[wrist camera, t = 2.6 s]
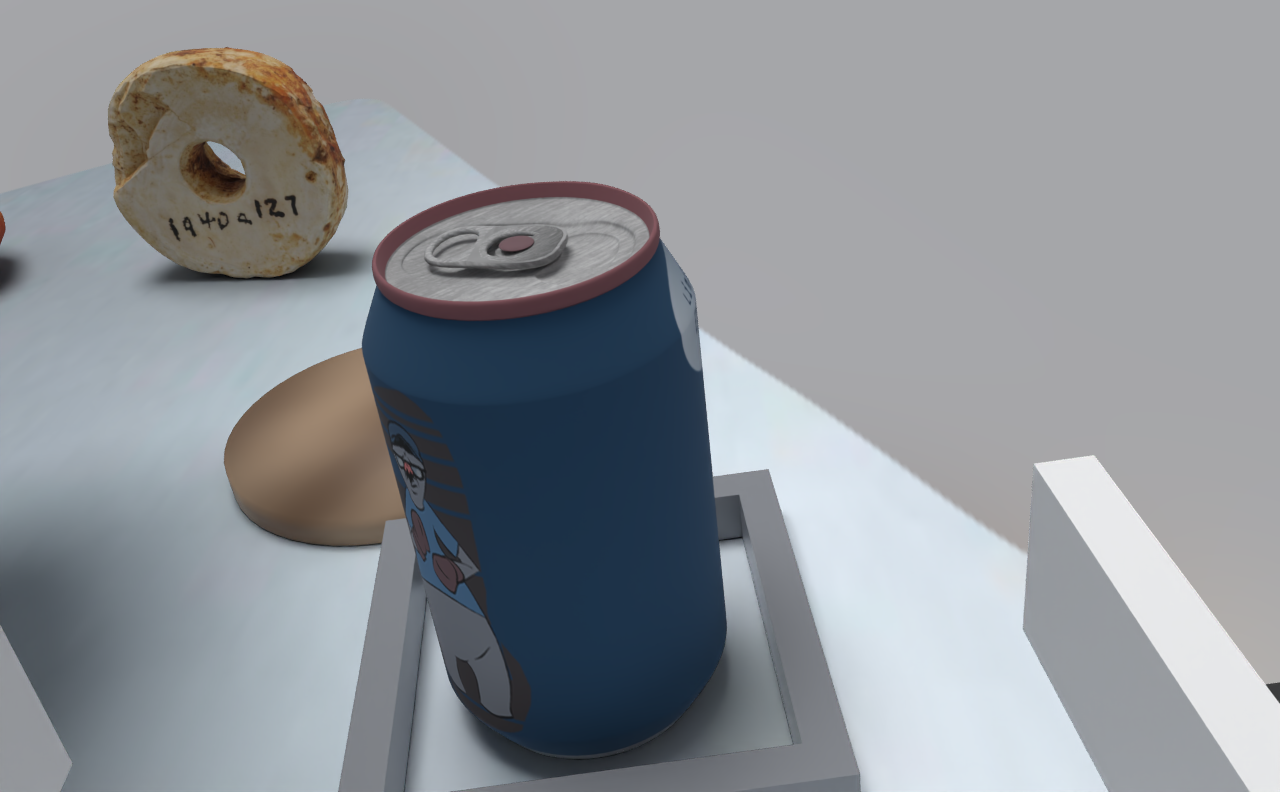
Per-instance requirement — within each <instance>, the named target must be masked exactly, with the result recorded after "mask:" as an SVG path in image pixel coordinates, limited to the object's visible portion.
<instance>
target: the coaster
mask: <svg viewBox="0 0 1280 792" xmlns="http://www.w3.org/2000/svg"><path fill="white" fill-rule="evenodd" d="M224 464H225V469H226V474H227V476H228V479H229V482H230V485H231V487H232V490H233V493H234V496H235V499H236V500H237V502H238V504H239V506H240V508H241V510H242V511H243V512H244V513H245V514H246V515H247V516H248V518H249V519H250V520H252V521H253V522H254V523H256V524H257V525H259V526H260V527H261V528H263V529H265V530H267V531H269V532H271V533H274V534H276V535H278V536H282V537H285V538H288V539H291V540H295V541H300V542H305V543H311V544H320V545H332V546H346V545H366V544H377V543H382V540H383V534H384V528H385V523H386V521H388V520H396V519H403V518H406V516H405V512H404V509H403V505H402V501H401V497H400V494H399V490H398V486H397V482H396V478H395V475H394V471H393V467H392V463H391V460H390V456H389V452H388V448H387V445H386V441H385V437H384V433H383V429H382V426H381V422H380V418H379V414H378V411H377V407H376V403H375V399H374V395H373V392H372V388H371V384H370V380H369V377H368V373H367V369H366V365H365V362H364V358H363V353H362V348H360V349H357V350H353V351H350V352H347V353H344V354H341V355H338V356H335V357H333V358H330V359H328V360H325V361H323V362H320V363H318V364H316V365H313V366H311V367H309V368H307V369H305V370H303V371H301V372H299V373H297V374H295V375H294V376H292V377H290V378H289V379H287V380H285V381H284V382H282V383H280V384H279V385H277V386H276V387H275V388H273V389H272V390H270V391H269V392H267V393H266V394H265V395H264V396H262V397H261V398H260V399H259V400H258V401H257V402H255V403H254V404H253V405H252V406H251V407H250V408H249V409H248V410H247V411H246V412H245V414H244V415H243V416H242V417H241V418H240V420H239V421H238V423H237V424H236V425H235V427H234V428H233V430H232V432H231V434H230V436H229V438H228V441H227V444H226V448H225V453H224Z"/></svg>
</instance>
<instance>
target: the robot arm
mask: <svg viewBox="0 0 1280 792" xmlns="http://www.w3.org/2000/svg"><path fill="white" fill-rule="evenodd" d="M1023 630H1024V632H1025V634H1026V636H1027V638H1028V640H1029V642H1030V644H1031V646H1032V648H1033V649H1034V651H1035V653H1036V655H1037V657H1038V659H1039V661H1040V663H1041V665H1042V666H1043V668H1044V670H1045V672H1046V674H1047V676H1048V678H1049V680H1050V682H1051V683H1052V685H1053V687H1054V689H1055V691H1056V693H1057V695H1058V697H1059V699H1060V701H1061V702H1062V704H1063V706H1064V708H1065V710H1066V712H1067V714H1068V716H1069V718H1070V719H1071V721H1072V723H1073V725H1074V727H1075V729H1076V731H1077V733H1078V735H1079V736H1080V738H1081V740H1082V742H1083V744H1084V746H1085V748H1086V750H1087V752H1088V753H1089V755H1090V757H1091V759H1092V761H1093V763H1094V765H1095V767H1096V769H1097V771H1098V772H1099V774H1100V776H1101V778H1102V780H1103V782H1104V784H1105V786H1106V788H1107V789H1108V791H1109V792H1280V683H1273V684H1266V685H1265V683H1264V682H1263V681H1262V679H1261V678H1260V677H1259V675H1258V674H1257V673H1256V671H1255V670H1254V669H1253V668H1252V666H1251V665H1250V663H1249V662H1248V661H1247V659H1246V658H1245V657H1244V655H1243V654H1242V653H1241V651H1240V650H1239V649H1238V647H1237V646H1236V645H1235V643H1234V642H1233V641H1232V639H1231V638H1230V636H1229V635H1228V634H1227V633H1226V631H1225V630H1224V628H1223V627H1222V626H1221V624H1220V623H1219V622H1218V620H1217V619H1216V618H1215V616H1214V615H1213V614H1212V612H1211V611H1210V610H1209V609H1208V607H1207V606H1206V604H1205V603H1204V602H1203V600H1202V599H1201V598H1200V596H1199V595H1198V594H1197V593H1196V591H1195V590H1194V588H1193V587H1192V586H1191V584H1190V583H1189V582H1188V580H1187V579H1186V578H1185V576H1184V575H1183V574H1182V572H1181V571H1180V570H1179V568H1178V567H1177V566H1176V564H1175V563H1174V562H1173V560H1172V559H1171V558H1170V556H1169V555H1168V554H1167V552H1166V551H1165V550H1164V548H1163V547H1162V545H1161V544H1160V543H1159V541H1158V540H1157V539H1156V538H1155V536H1154V535H1153V533H1152V532H1151V531H1150V529H1149V528H1148V527H1147V525H1146V524H1145V523H1144V521H1143V520H1142V519H1141V518H1140V516H1139V515H1138V514H1137V512H1136V511H1135V509H1134V508H1133V507H1132V505H1131V504H1130V503H1129V501H1128V500H1127V499H1126V497H1125V496H1124V495H1123V493H1122V492H1121V491H1120V489H1119V488H1118V487H1117V485H1116V484H1115V483H1114V481H1113V480H1112V479H1111V478H1110V476H1109V475H1108V473H1107V472H1106V471H1105V469H1104V468H1103V466H1102V465H1101V464H1100V463H1099V461H1098V460H1097V459H1096V457H1095V456H1094V455H1092V456H1085V457H1079V458H1071V459H1064V460H1057V461H1050V462H1043V463H1036V464H1034V467H1033V482H1032V497H1031V512H1030V528H1029V543H1028V558H1027V573H1026V588H1025V603H1024V618H1023ZM72 765H73V763H72V761H71V759H70V757H69V755H68V753H67V752H66V750H65V748H64V746H63V744H62V742H61V740H60V738H59V736H58V734H57V732H56V731H55V729H54V727H53V725H52V723H51V721H50V719H49V717H48V715H47V713H46V711H45V709H44V708H43V706H42V704H41V702H40V700H39V698H38V696H37V694H36V692H35V690H34V688H33V686H32V685H31V683H30V681H29V679H28V677H27V675H26V673H25V671H24V669H23V667H22V665H21V664H20V662H19V660H18V658H17V656H16V654H15V652H14V650H13V648H12V646H11V644H10V642H9V641H8V639H7V637H6V635H5V633H4V631H3V629H2V627H1V625H0V792H61V790H62V787H63V785H64V783H65V780H66V778H67V776H68V774H69V771H70V769H71V767H72Z"/></svg>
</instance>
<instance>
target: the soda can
mask: <svg viewBox="0 0 1280 792" xmlns="http://www.w3.org/2000/svg"><path fill="white" fill-rule="evenodd" d="M659 237H660V230H659V223H658V219H657V216H656V214H655V212H654V211H653V210H652V208H651V207H650V206H649V205H648V204H647V203H646V202H645V201H643V200H642V199H640V198H639V197H637V196H635V195H633V194H631V193H629V192H626V191H624V190H621V189H618V188H615V187H611V186H607V185H603V184H598V183H590V182H576V181H572V182H571V181H569V182H568V181H559V182H538V183H527V184H518V185H511V186H505V187H499V188H494V189H489V190H484V191H480V192H476V193H472V194H468V195H465V196H462V197H458V198H455V199H452V200H449V201H446V202H444V203H441V204H438V205H436V206H434V207H431V208H429V209H427V210H425V211H423V212H421V213H419V214H417V215H415V216H413V217H411V218H409V219H408V220H406V221H405V222H403V223H402V224H400V225H399V226H397V227H396V228H395V229H393V230H392V231H391V232H390V233H389V234H388V235H387V236H386V237H385V238H384V239H383V240H382V241H381V243H380V244H379V245H378V247H377V249H376V250H375V253H374V256H373V260H372V271H373V276H374V279H375V282H376V285H377V286H376V289H375V293H374V296H373V300H372V303H371V307H370V310H369V314H368V317H367V321H366V325H365V329H364V334H363V339H362V353H363V358H364V362H365V365H366V369H367V373H368V377H369V380H370V384H371V388H372V392H373V395H374V399H375V403H376V407H377V411H378V414H379V418H380V422H381V426H382V429H383V433H384V437H385V441H386V445H387V448H388V452H389V456H390V460H391V463H392V467H393V471H394V475H395V478H396V482H397V486H398V490H399V494H400V497H401V501H402V505H403V509H404V512H405V516H406V520H407V524H408V527H409V531H410V535H411V539H412V543H413V546H414V550H415V554H416V558H417V561H418V565H419V569H420V573H421V577H422V580H423V584H424V588H425V592H426V595H427V599H428V603H429V607H430V610H431V614H432V618H433V622H434V626H435V629H436V633H437V637H438V641H439V644H440V648H441V652H442V656H443V659H444V663H445V667H446V671H447V674H448V678H449V681H450V683H451V685H452V688H453V690H454V691H455V693H456V695H457V696H458V698H459V699H460V700H461V702H462V703H463V704H464V706H465V707H466V708H467V709H468V710H469V711H470V712H471V713H472V714H473V715H474V716H475V717H477V718H478V719H479V720H480V721H481V722H483V723H484V724H486V725H487V726H488V727H490V728H491V729H493V730H494V731H496V732H498V733H499V734H501V735H503V736H504V737H506V738H508V739H510V740H511V741H513V742H515V743H517V744H518V745H520V746H522V747H524V748H526V749H528V750H531V751H534V752H536V753H539V754H543V755H547V756H551V757H557V758H566V759H590V758H599V757H605V756H610V755H614V754H618V753H622V752H625V751H628V750H630V749H633V748H636V747H638V746H640V745H642V744H644V743H646V742H648V741H650V740H652V739H654V738H655V737H657V736H659V735H660V734H661V733H663V732H664V731H666V730H667V729H668V728H669V727H671V726H672V725H673V724H674V723H675V722H676V721H677V720H678V719H679V718H680V717H681V716H682V715H683V714H684V713H685V711H686V710H687V709H688V708H689V706H690V705H691V704H692V703H693V701H694V700H695V699H696V697H697V696H698V695H699V694H700V692H701V691H702V690H703V688H704V687H705V685H706V684H707V682H708V681H709V679H710V678H711V676H712V674H713V672H714V671H715V669H716V667H717V665H718V662H719V660H720V658H721V655H722V652H723V649H724V645H725V640H726V631H727V621H726V610H725V600H724V590H723V579H722V569H721V558H720V548H719V537H718V527H717V516H716V506H715V495H714V485H713V474H712V464H711V453H710V443H709V433H708V422H707V412H706V401H705V391H704V380H703V370H702V359H701V349H700V338H699V328H698V317H697V308H696V298H695V293H694V290H693V287H692V285H691V283H690V281H689V279H688V278H687V276H686V275H685V273H684V272H683V270H682V269H681V267H680V266H679V265H678V263H677V262H676V260H675V259H674V257H673V256H672V254H671V253H670V252H669V250H668V249H667V248H666V246H665V245H664V243H663V242H662V240H661V239H660V238H659Z"/></svg>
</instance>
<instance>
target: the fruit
mask: <svg viewBox="0 0 1280 792" xmlns="http://www.w3.org/2000/svg"><path fill="white" fill-rule="evenodd" d="M4 233H5V222H4V218H3V215H2V213H1V212H0V244H1V241H2V238H3V236H4Z"/></svg>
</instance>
